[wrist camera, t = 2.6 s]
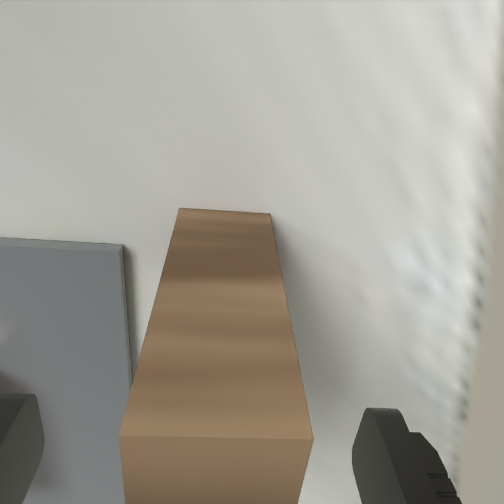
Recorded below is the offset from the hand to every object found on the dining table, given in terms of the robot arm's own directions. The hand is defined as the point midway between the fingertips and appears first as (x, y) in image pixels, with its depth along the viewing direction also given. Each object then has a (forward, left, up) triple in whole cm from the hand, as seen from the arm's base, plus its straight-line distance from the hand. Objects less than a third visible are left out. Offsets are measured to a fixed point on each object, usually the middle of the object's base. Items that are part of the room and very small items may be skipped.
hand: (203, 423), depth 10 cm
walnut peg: (-1, 0, -8) cm, 8 cm away
